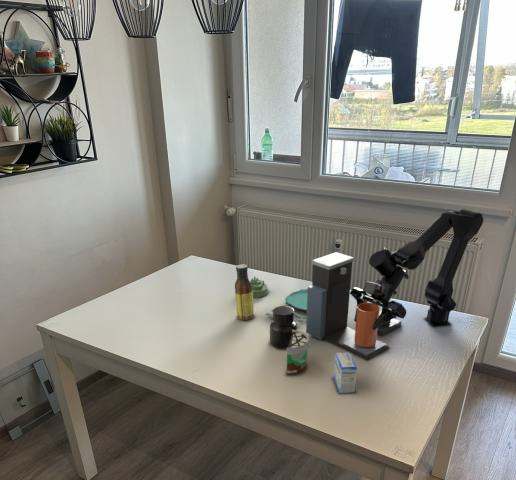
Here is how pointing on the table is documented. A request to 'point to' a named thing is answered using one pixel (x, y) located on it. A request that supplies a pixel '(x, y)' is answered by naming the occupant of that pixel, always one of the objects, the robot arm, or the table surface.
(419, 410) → the table surface
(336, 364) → the medicine box
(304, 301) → the cutlery set
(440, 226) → the robot arm
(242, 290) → the sauce bottle
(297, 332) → the food container
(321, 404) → the table surface
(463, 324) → the table surface
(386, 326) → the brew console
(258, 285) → the decorative artifact
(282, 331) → the ink bottle
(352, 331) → the coffee maker
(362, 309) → the cup
